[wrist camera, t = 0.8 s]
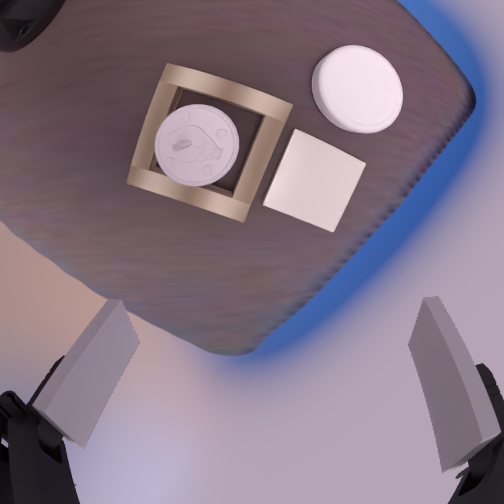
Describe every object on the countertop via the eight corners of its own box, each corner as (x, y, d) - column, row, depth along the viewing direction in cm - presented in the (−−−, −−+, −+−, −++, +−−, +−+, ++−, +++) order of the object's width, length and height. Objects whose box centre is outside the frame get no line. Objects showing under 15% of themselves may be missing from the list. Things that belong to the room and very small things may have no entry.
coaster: (403, 98, 27) (419, 97, 23) (353, 149, 29) (366, 152, 26) (347, 36, 23) (359, 28, 20) (291, 86, 26) (298, 82, 23)
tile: (261, 202, 31) (262, 204, 30) (293, 128, 28) (295, 128, 27) (330, 229, 33) (333, 232, 32) (362, 162, 30) (365, 163, 29)
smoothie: (190, 103, 26) (154, 85, 13) (247, 122, 27) (257, 118, 15) (170, 158, 29) (122, 184, 16) (225, 177, 30) (217, 216, 17)
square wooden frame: (135, 178, 29) (126, 183, 26) (173, 68, 24) (167, 62, 21) (242, 214, 32) (243, 222, 29) (287, 106, 27) (293, 104, 24)
